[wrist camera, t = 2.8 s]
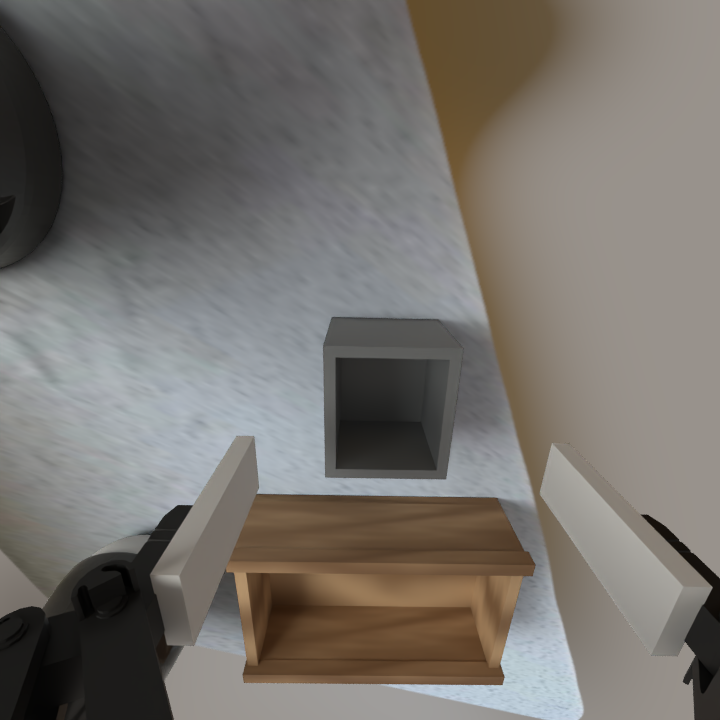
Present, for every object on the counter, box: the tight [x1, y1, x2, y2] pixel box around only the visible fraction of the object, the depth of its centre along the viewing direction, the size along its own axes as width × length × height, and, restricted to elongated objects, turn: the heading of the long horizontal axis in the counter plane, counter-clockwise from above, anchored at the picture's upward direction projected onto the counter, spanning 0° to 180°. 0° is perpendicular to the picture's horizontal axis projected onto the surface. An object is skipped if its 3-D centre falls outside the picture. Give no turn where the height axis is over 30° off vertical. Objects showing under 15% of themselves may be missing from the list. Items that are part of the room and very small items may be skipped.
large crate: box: [226, 494, 535, 685], centre depth 27 cm, size 13×20×6 cm, turn 89°
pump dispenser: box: [42, 535, 184, 720], centre depth 23 cm, size 10×10×15 cm
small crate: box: [323, 317, 464, 479], centre depth 21 cm, size 8×7×6 cm
